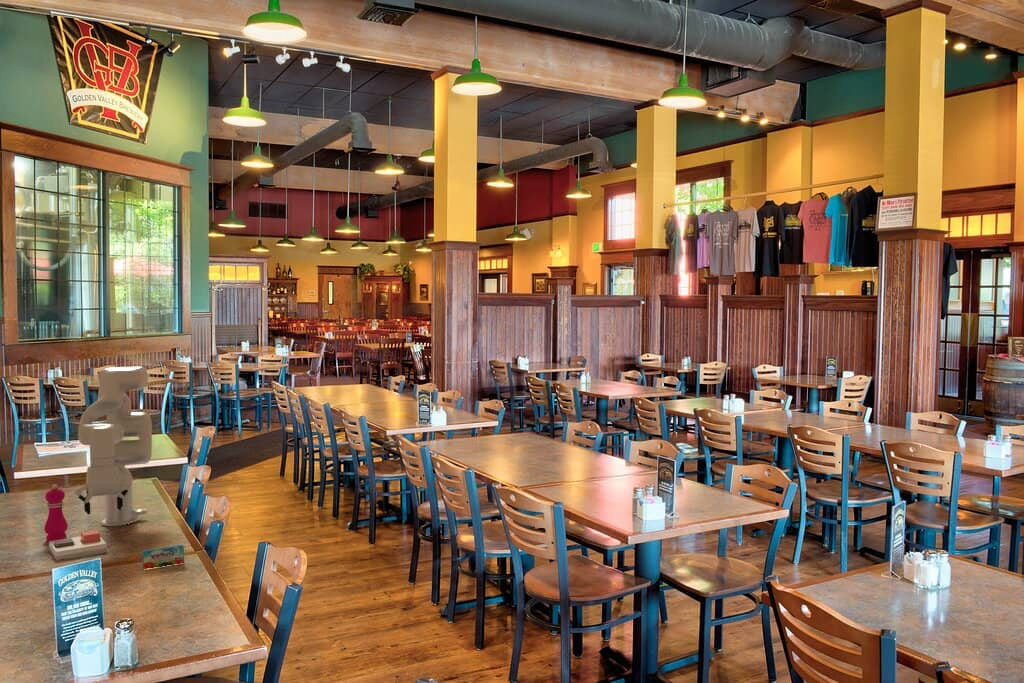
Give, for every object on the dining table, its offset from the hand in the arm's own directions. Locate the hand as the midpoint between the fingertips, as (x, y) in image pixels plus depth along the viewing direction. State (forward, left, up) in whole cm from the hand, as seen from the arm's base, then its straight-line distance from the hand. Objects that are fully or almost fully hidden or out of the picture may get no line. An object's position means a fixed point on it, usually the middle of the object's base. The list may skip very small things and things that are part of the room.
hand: (103, 511), depth 278 cm
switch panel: (+8, 0, -12) cm, 15 cm away
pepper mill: (+12, -20, -13) cm, 27 cm away
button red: (+4, 0, -9) cm, 10 cm away
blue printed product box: (-10, +36, -13) cm, 39 cm away
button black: (+12, 0, -11) cm, 16 cm away
